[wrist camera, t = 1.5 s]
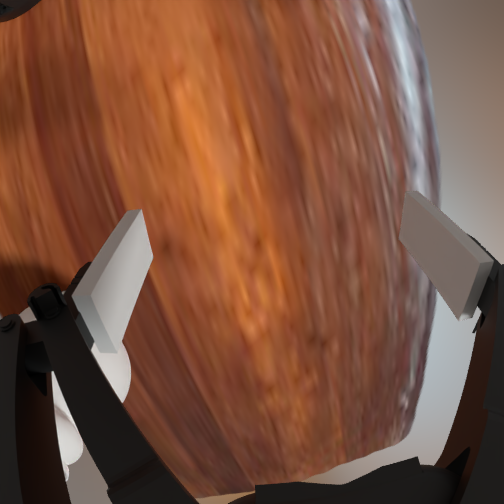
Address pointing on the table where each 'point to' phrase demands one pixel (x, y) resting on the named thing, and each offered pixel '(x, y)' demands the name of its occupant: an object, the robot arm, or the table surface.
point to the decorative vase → (68, 435)
